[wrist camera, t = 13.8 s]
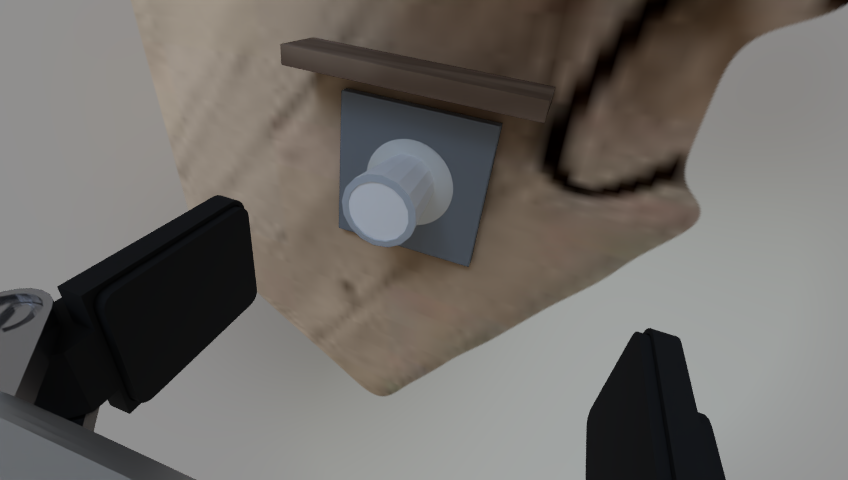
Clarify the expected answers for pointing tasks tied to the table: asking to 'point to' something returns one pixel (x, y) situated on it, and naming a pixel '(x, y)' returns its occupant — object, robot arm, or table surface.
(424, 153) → the mat
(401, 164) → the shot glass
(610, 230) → the table surface
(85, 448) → the robot arm
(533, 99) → the divider wall
